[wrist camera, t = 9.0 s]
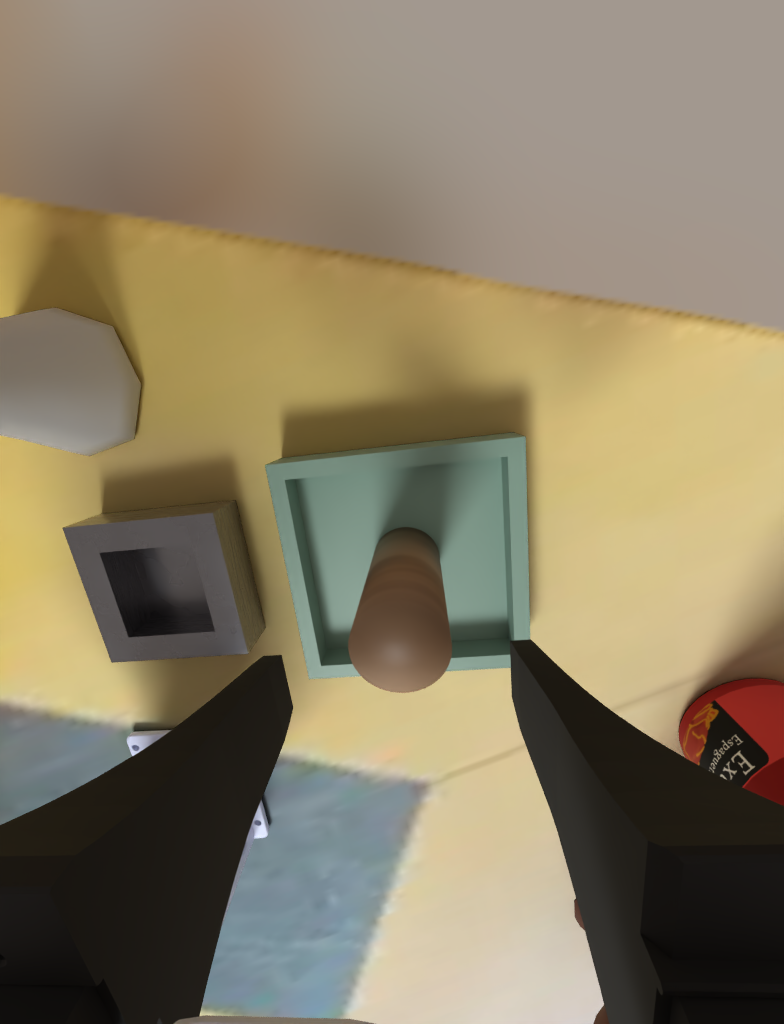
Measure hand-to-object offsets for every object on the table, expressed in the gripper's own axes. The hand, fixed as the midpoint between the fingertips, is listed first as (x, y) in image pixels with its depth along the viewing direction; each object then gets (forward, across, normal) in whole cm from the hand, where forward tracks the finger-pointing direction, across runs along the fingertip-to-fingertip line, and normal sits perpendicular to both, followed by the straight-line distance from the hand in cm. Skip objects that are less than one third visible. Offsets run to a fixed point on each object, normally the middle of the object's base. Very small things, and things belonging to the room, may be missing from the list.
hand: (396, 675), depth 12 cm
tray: (+10, 0, 0) cm, 10 cm away
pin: (+9, 0, 0) cm, 9 cm away
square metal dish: (+10, +13, 0) cm, 16 cm away
